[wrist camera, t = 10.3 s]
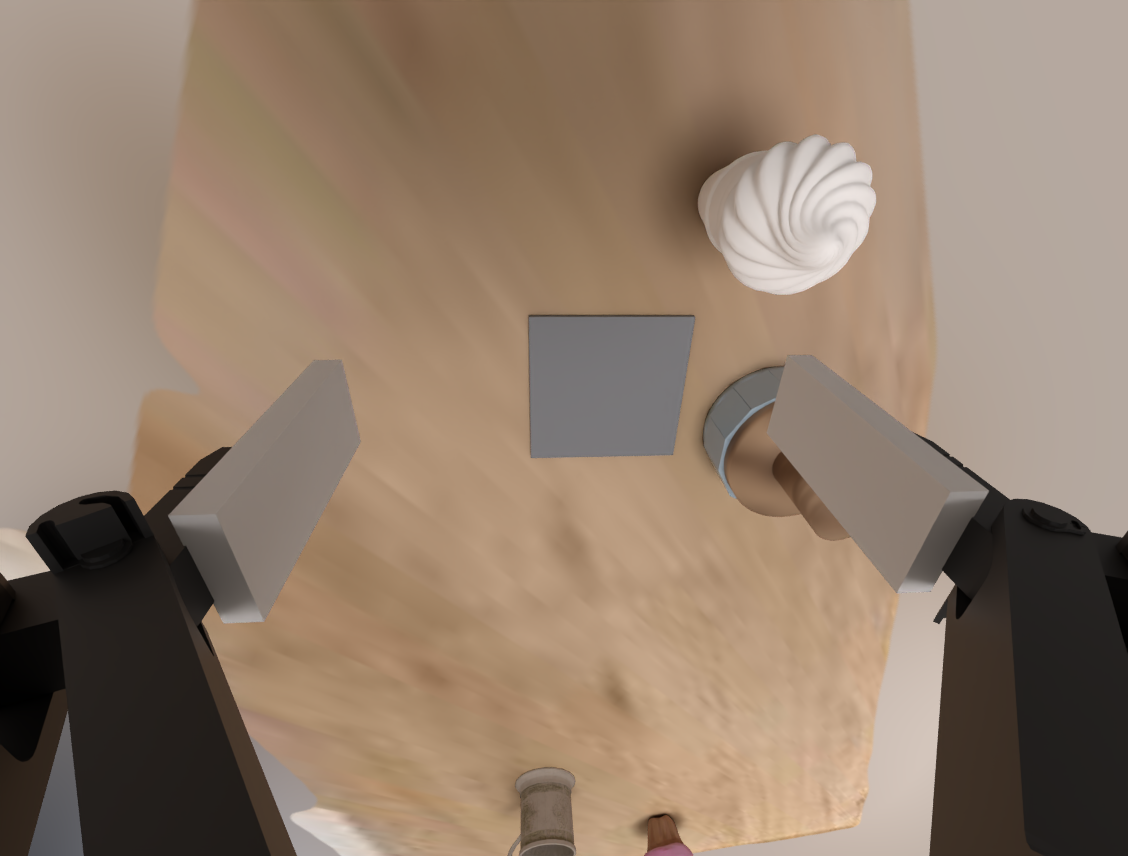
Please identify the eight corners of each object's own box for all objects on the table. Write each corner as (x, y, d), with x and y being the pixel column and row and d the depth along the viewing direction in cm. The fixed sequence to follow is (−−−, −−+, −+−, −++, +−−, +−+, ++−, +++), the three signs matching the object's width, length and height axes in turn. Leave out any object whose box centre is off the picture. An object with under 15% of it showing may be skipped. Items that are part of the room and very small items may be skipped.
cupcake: (641, 832, 94) (652, 902, 85) (632, 813, 89) (643, 885, 81) (686, 823, 93) (703, 893, 84) (680, 803, 89) (696, 875, 80)
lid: (738, 394, 40) (786, 451, 33) (878, 392, 41) (955, 448, 34) (712, 508, 46) (748, 577, 39) (834, 504, 47) (891, 572, 40)
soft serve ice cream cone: (724, 107, 34) (860, 88, 20) (803, 183, 37) (968, 211, 23) (648, 215, 37) (720, 260, 24) (725, 277, 40) (830, 349, 26)
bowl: (715, 366, 44) (735, 391, 40) (847, 365, 45) (881, 389, 41) (693, 478, 51) (709, 510, 46) (810, 475, 51) (835, 506, 47)
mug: (544, 761, 78) (547, 856, 67) (587, 779, 82) (596, 871, 71) (485, 796, 82) (479, 891, 72) (528, 812, 86) (528, 903, 76)
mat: (528, 315, 41) (528, 317, 40) (693, 315, 42) (695, 316, 41) (530, 455, 48) (531, 458, 47) (671, 452, 49) (672, 455, 48)
